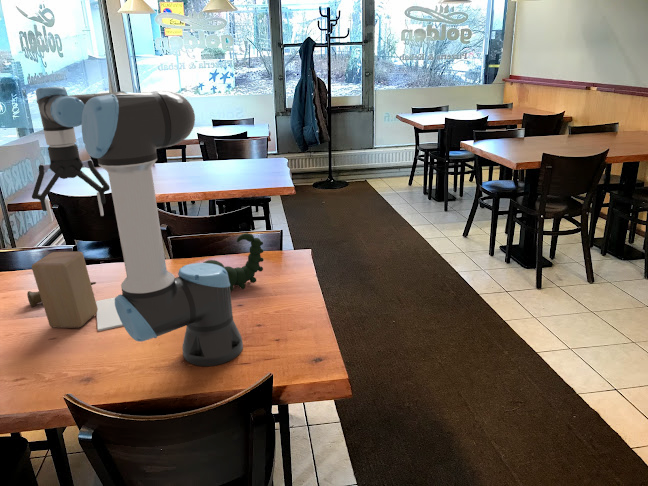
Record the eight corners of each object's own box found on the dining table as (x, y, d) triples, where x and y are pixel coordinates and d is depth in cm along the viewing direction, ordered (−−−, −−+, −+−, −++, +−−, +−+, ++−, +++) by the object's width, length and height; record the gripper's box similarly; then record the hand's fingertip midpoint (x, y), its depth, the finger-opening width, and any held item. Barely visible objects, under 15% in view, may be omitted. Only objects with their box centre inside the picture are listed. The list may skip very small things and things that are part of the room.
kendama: (29, 302, 166) (95, 285, 175) (31, 314, 158) (100, 296, 167) (24, 285, 163) (91, 269, 173) (26, 297, 156) (96, 279, 165)
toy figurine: (255, 280, 178) (183, 292, 165) (255, 227, 172) (181, 236, 160) (267, 290, 170) (192, 303, 158) (267, 235, 165) (190, 244, 152)
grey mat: (160, 317, 151) (160, 315, 151) (98, 331, 145) (97, 329, 144) (152, 291, 168) (151, 290, 168) (96, 302, 162) (95, 301, 162)
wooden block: (69, 311, 156) (51, 250, 149) (99, 311, 155) (83, 250, 147) (48, 328, 147) (28, 265, 140) (80, 329, 146) (62, 264, 138)
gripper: (110, 139, 151) (122, 208, 158) (13, 147, 142) (31, 220, 149) (110, 142, 144) (122, 215, 151) (8, 151, 136) (27, 227, 143)
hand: (77, 217), depth 150 cm, fingers open, 13 cm apart
